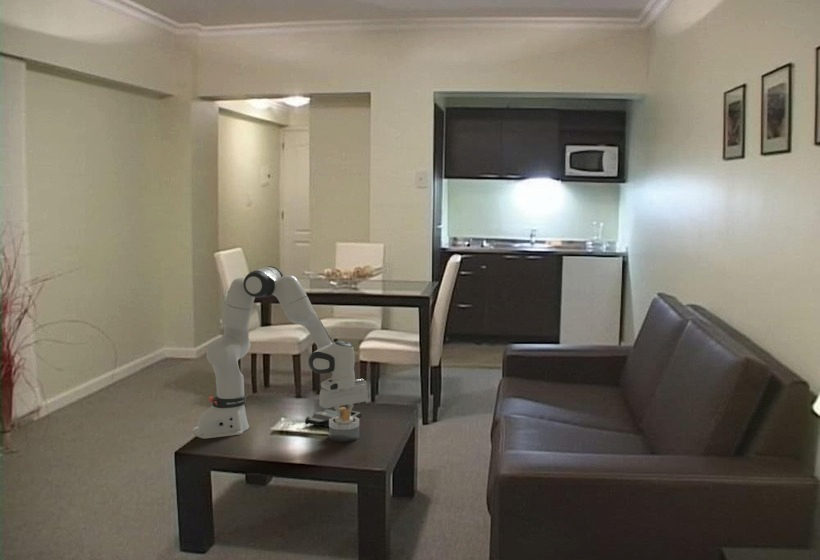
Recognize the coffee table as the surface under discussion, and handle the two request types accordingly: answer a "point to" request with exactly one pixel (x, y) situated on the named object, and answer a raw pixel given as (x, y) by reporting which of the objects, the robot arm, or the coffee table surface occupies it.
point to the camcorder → (326, 417)
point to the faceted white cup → (344, 430)
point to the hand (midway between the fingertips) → (344, 415)
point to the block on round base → (344, 416)
